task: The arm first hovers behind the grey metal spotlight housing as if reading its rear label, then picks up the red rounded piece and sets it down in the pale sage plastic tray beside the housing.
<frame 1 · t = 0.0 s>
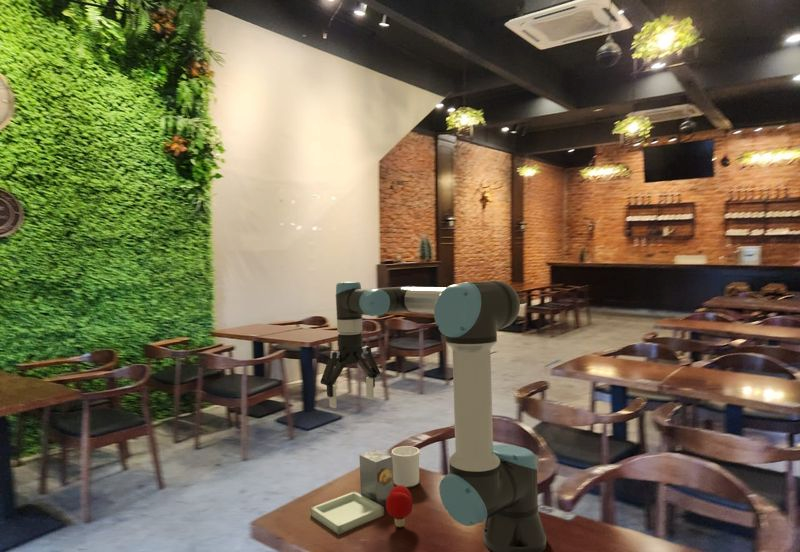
hand: (352, 402, 155), 28 cm above the table, fingers open, 13 cm apart
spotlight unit: (377, 499, 152), on the table
red rounded piece: (399, 527, 136), on the table
tray: (347, 515, 143), on the table
mug: (407, 482, 164), on the table
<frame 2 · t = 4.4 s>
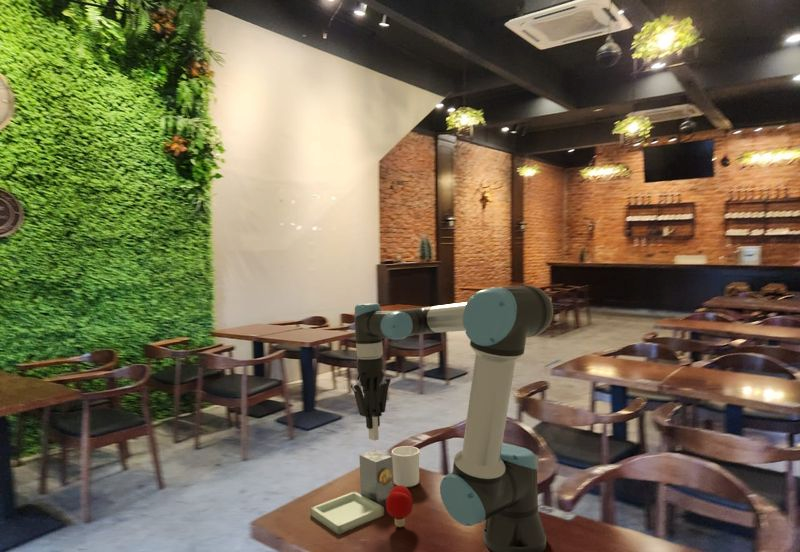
hand: (373, 438, 148), 19 cm above the table, fingers closed
nothing on the table moved.
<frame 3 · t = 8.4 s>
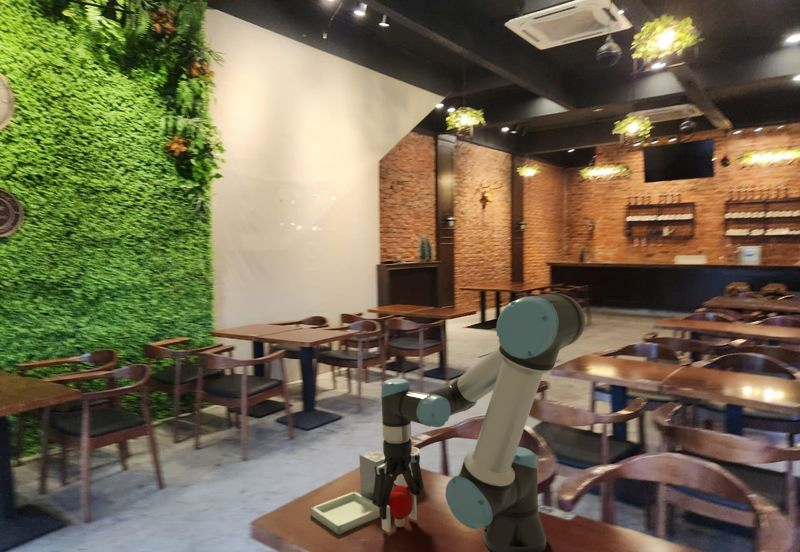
hand: (399, 523, 136), 1 cm above the table, fingers closed on red rounded piece, 8 cm apart
red rounded piece: (399, 527, 136), on the table, touching gripper
everything else where it was.
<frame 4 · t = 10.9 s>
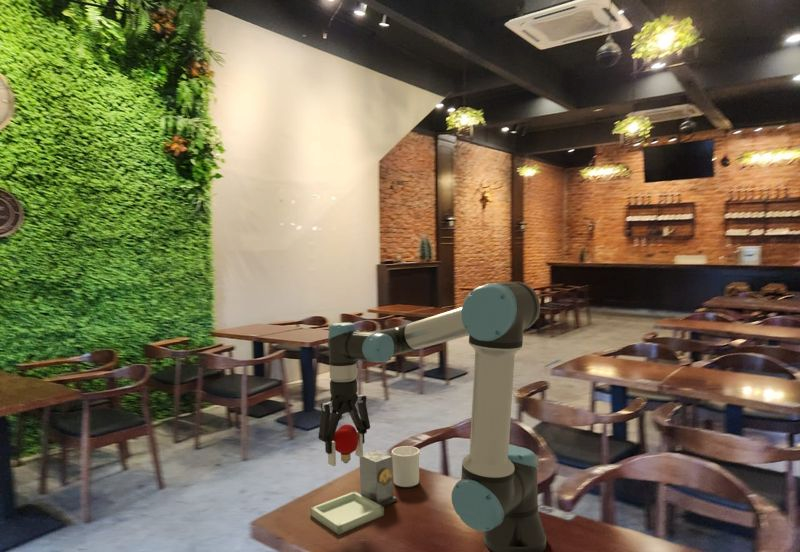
hand: (345, 460, 143), 16 cm above the table, fingers closed on red rounded piece, 8 cm apart
red rounded piece: (345, 463, 143), point 15 cm above the table, touching gripper
everything else where it was.
when the fingers open (3 cm above the table, at t = 13.6 s): red rounded piece drops 2 cm, resting on tray.
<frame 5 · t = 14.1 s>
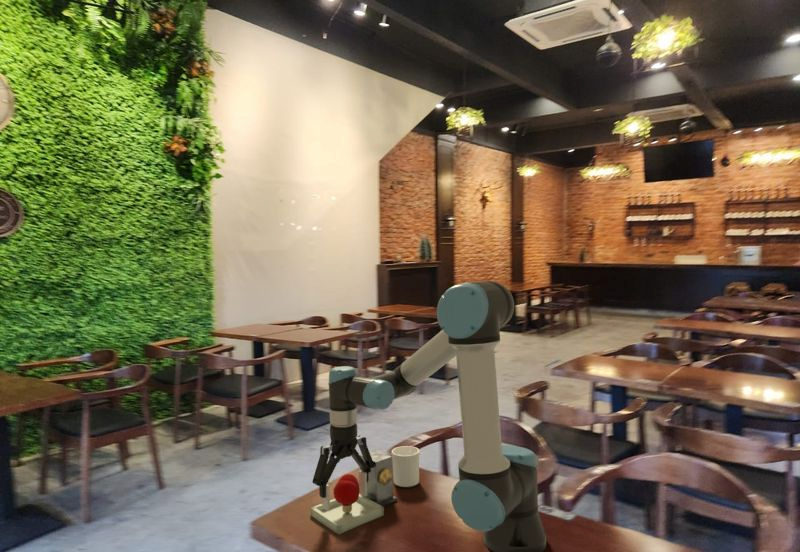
hand: (345, 501, 142), 4 cm above the table, fingers open, 12 cm apart
red rounded piece: (347, 513, 143), resting on tray
everything else where it was.
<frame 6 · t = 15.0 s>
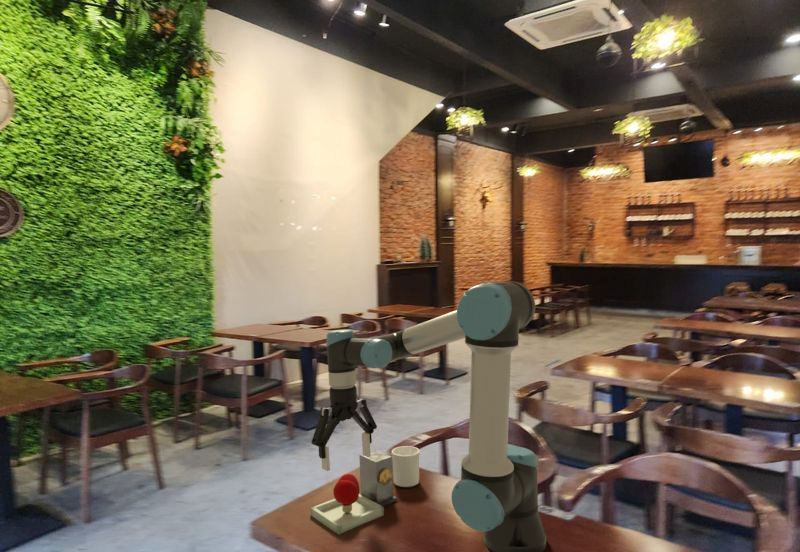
hand: (347, 462, 142), 15 cm above the table, fingers open, 13 cm apart
nothing on the table moved.
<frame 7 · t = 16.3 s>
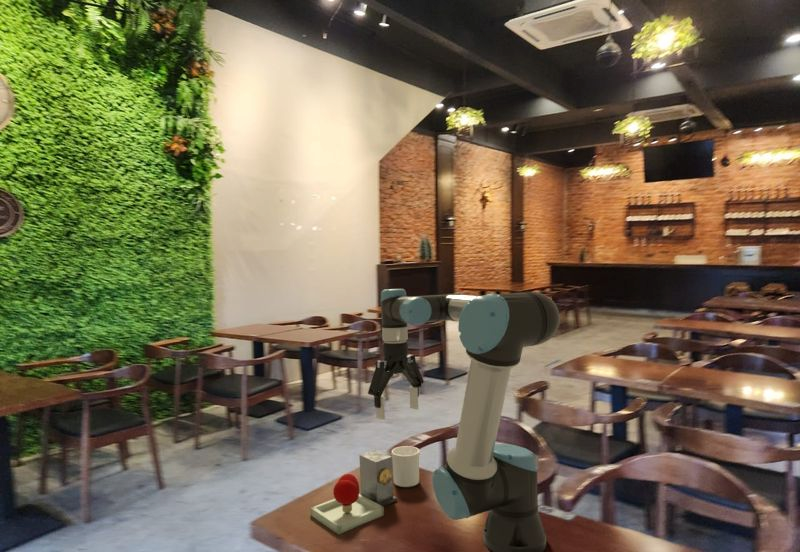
hand: (397, 413, 151), 26 cm above the table, fingers open, 13 cm apart
nothing on the table moved.
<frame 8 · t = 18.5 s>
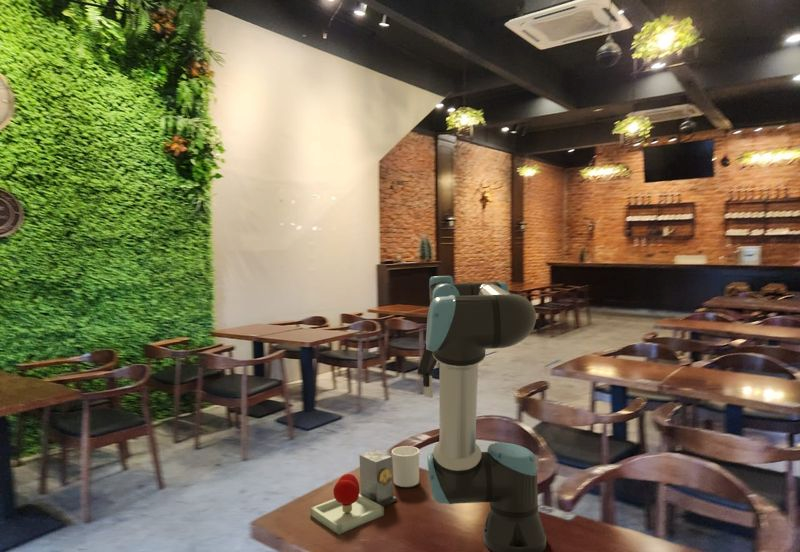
hand: (444, 393, 161), 29 cm above the table, fingers open, 13 cm apart
nothing on the table moved.
at the end: red rounded piece inside the target area on the tray (0.0 cm from its centre), point 0.4 cm above the tray's base; the gripper is holding nothing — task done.
